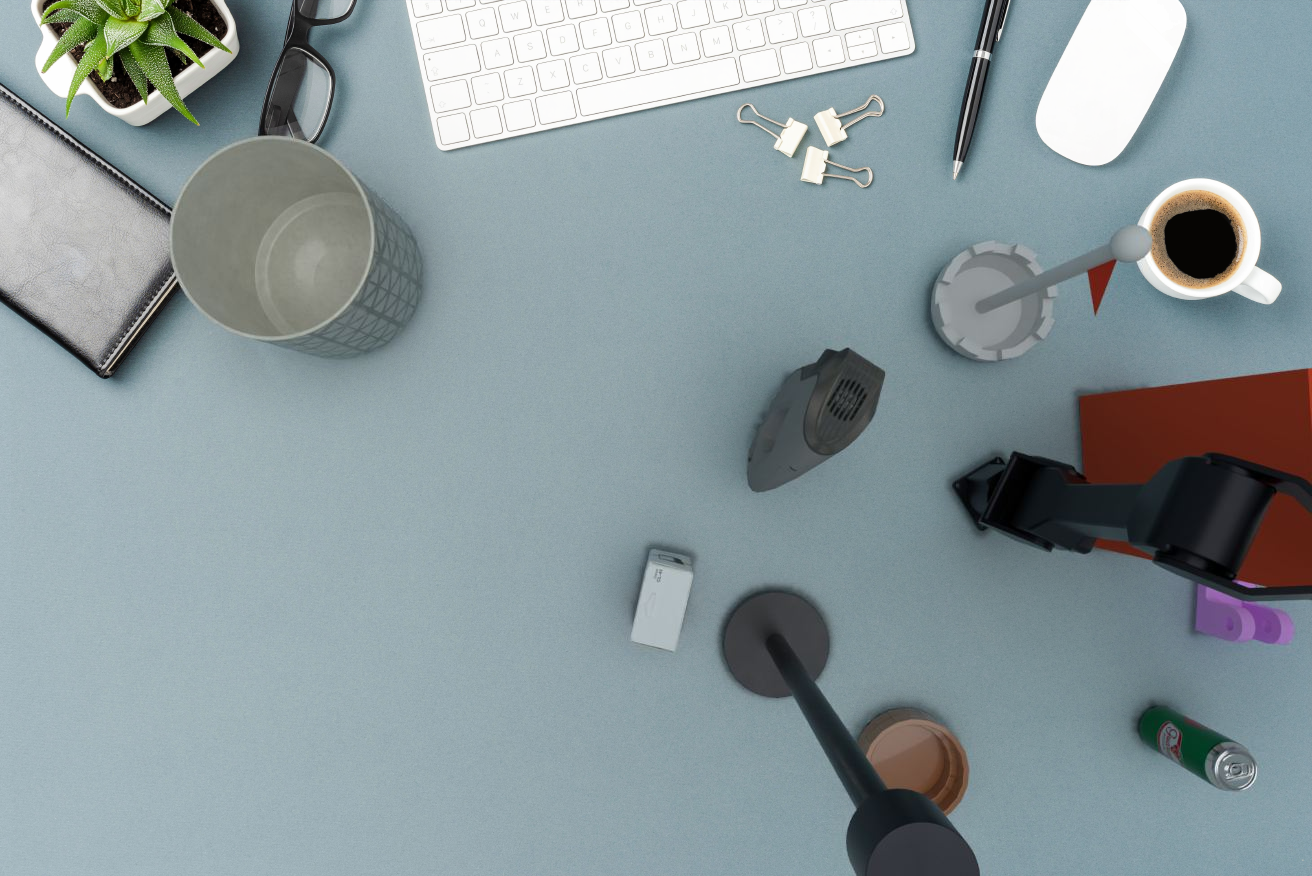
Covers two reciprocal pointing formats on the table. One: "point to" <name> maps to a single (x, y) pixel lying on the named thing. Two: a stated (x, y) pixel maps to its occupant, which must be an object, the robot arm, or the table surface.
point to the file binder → (1213, 420)
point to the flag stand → (1017, 293)
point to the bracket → (1240, 618)
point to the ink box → (662, 600)
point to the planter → (293, 250)
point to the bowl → (917, 756)
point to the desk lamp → (840, 741)
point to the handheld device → (814, 417)
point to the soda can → (1199, 749)
